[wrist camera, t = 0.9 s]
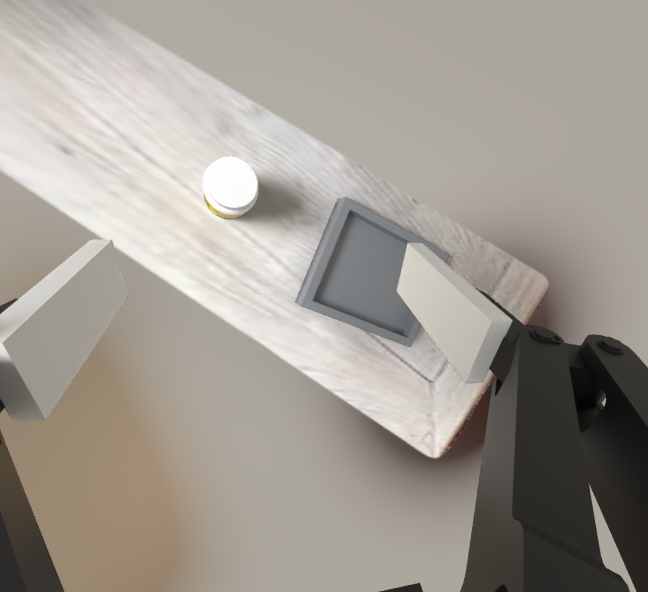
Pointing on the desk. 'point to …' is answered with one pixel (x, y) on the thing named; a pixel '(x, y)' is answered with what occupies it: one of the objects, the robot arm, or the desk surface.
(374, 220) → the tray
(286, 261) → the desk surface
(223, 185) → the supplement bottle
